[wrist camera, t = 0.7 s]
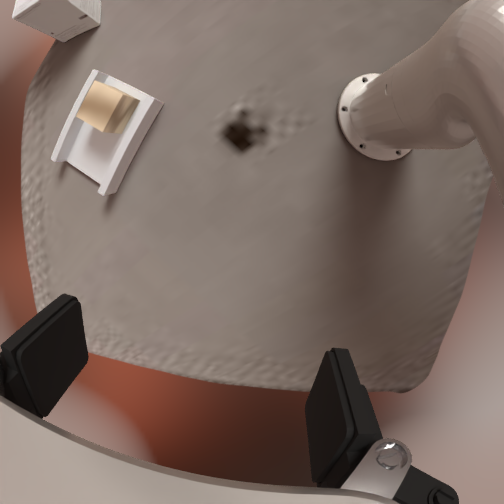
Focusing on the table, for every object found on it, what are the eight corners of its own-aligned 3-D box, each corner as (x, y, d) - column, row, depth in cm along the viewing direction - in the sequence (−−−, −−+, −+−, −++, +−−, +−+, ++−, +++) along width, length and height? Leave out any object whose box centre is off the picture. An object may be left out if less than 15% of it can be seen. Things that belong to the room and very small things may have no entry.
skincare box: (64, 43, 33) (8, 22, 19) (65, 18, 31) (14, -6, 17) (103, 24, 32) (51, -8, 18) (104, -2, 30) (57, -36, 16)
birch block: (113, 87, 35) (94, 80, 30) (140, 100, 36) (123, 94, 31) (96, 119, 37) (75, 116, 32) (121, 133, 37) (102, 132, 32)
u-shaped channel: (105, 73, 35) (93, 68, 32) (164, 103, 37) (154, 98, 33) (64, 157, 40) (50, 158, 36) (116, 192, 41) (103, 196, 37)
